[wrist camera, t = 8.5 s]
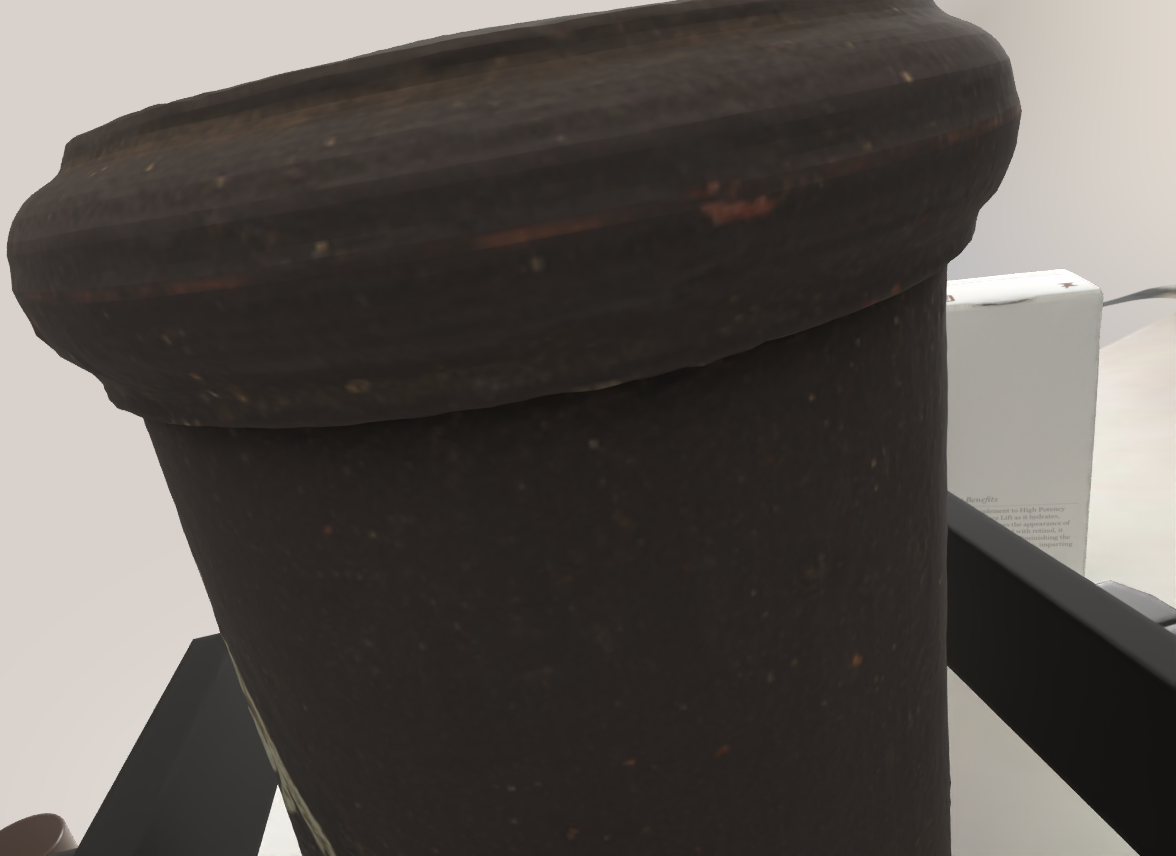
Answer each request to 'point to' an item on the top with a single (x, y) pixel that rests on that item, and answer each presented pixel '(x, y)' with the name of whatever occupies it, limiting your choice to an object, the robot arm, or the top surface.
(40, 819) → the wooden tray
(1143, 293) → the top surface
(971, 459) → the cosmetic box
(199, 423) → the container
